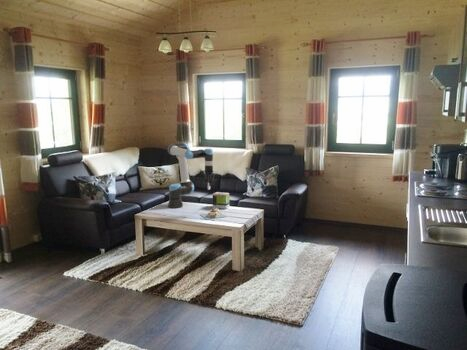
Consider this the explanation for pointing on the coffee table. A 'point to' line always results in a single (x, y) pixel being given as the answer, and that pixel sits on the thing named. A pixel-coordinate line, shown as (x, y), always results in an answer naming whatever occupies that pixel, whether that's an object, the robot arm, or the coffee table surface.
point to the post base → (212, 217)
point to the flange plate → (214, 213)
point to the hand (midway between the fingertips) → (209, 189)
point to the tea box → (220, 200)
